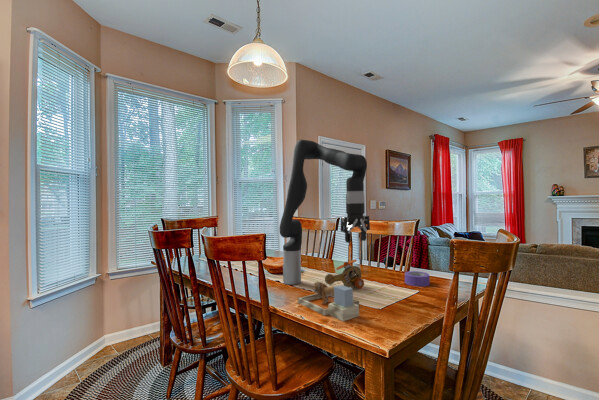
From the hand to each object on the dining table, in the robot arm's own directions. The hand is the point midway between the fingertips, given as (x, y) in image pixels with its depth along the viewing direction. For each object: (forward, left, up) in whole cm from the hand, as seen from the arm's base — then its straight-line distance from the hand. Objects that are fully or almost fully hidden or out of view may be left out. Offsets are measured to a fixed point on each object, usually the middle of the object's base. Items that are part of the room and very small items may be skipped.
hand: (355, 241), depth 124 cm
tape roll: (-4, +46, -26) cm, 53 cm away
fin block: (+6, -13, -22) cm, 26 cm away
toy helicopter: (-19, +11, -26) cm, 34 cm away
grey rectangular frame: (-3, -10, -26) cm, 28 cm away
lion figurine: (-6, -10, -25) cm, 28 cm away
